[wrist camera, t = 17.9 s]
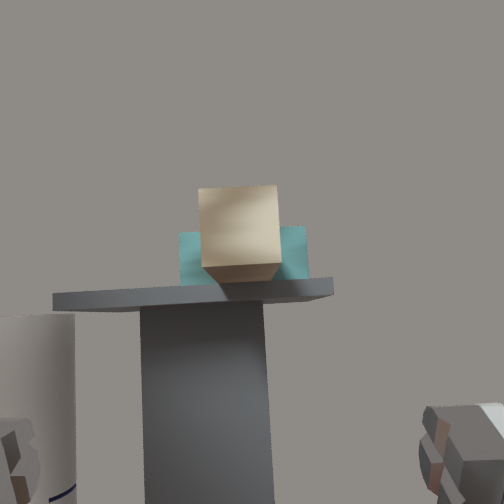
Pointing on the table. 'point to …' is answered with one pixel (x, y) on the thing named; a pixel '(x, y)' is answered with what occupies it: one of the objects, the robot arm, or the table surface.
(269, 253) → the tan and teal block
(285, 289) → the stand
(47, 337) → the cylindrical container
